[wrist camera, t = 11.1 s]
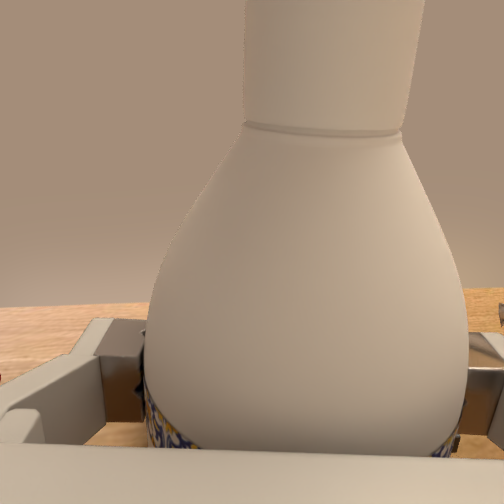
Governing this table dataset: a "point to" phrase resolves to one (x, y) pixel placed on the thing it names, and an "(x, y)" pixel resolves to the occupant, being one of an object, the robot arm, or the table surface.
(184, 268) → the bath foam
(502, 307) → the soldier figure
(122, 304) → the table surface
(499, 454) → the table surface
